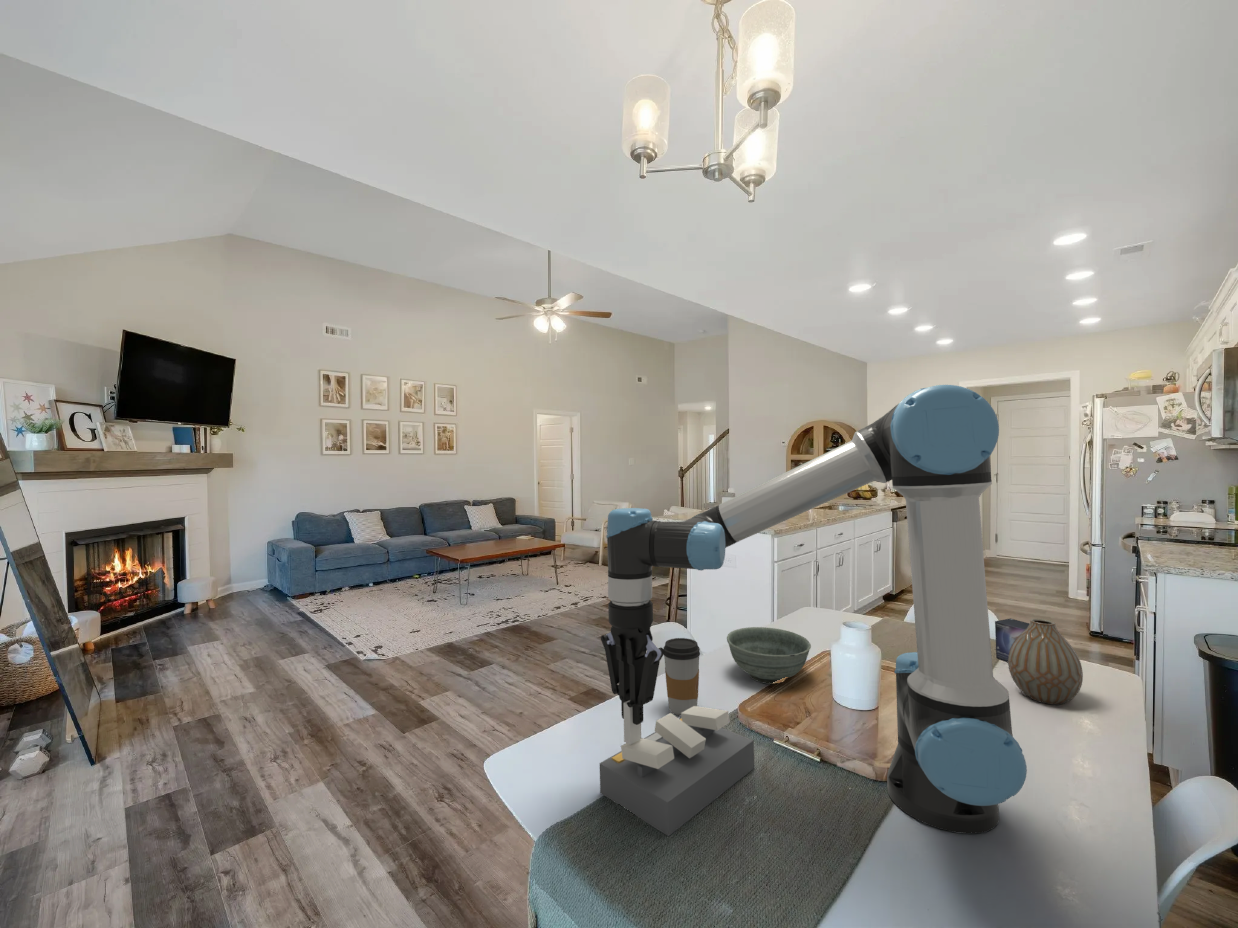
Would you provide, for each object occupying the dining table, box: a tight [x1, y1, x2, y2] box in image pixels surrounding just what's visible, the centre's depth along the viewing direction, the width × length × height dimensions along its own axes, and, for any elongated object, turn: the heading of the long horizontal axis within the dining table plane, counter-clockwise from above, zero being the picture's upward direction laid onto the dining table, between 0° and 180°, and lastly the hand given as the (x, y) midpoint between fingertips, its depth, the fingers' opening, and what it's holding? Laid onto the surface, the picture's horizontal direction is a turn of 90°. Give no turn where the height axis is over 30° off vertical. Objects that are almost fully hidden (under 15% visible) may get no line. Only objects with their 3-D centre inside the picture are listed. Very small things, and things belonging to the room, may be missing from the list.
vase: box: [1007, 618, 1084, 706], centre depth 118 cm, size 13×13×18 cm
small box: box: [994, 618, 1030, 663], centre depth 138 cm, size 11×6×10 cm, turn 17°
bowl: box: [726, 626, 812, 685], centre depth 133 cm, size 21×21×10 cm
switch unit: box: [599, 716, 755, 837], centre depth 90 cm, size 15×24×6 cm, turn 134°
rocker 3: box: [680, 705, 731, 730], centre depth 96 cm, size 8×4×2 cm, turn 45°
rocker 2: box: [654, 712, 706, 758], centre depth 90 cm, size 8×4×2 cm, turn 44°
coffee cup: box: [663, 637, 701, 717], centre depth 117 cm, size 8×8×15 cm
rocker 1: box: [620, 737, 674, 769], centre depth 85 cm, size 8×4×2 cm, turn 45°
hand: (632, 739), depth 87 cm, fingers closed
